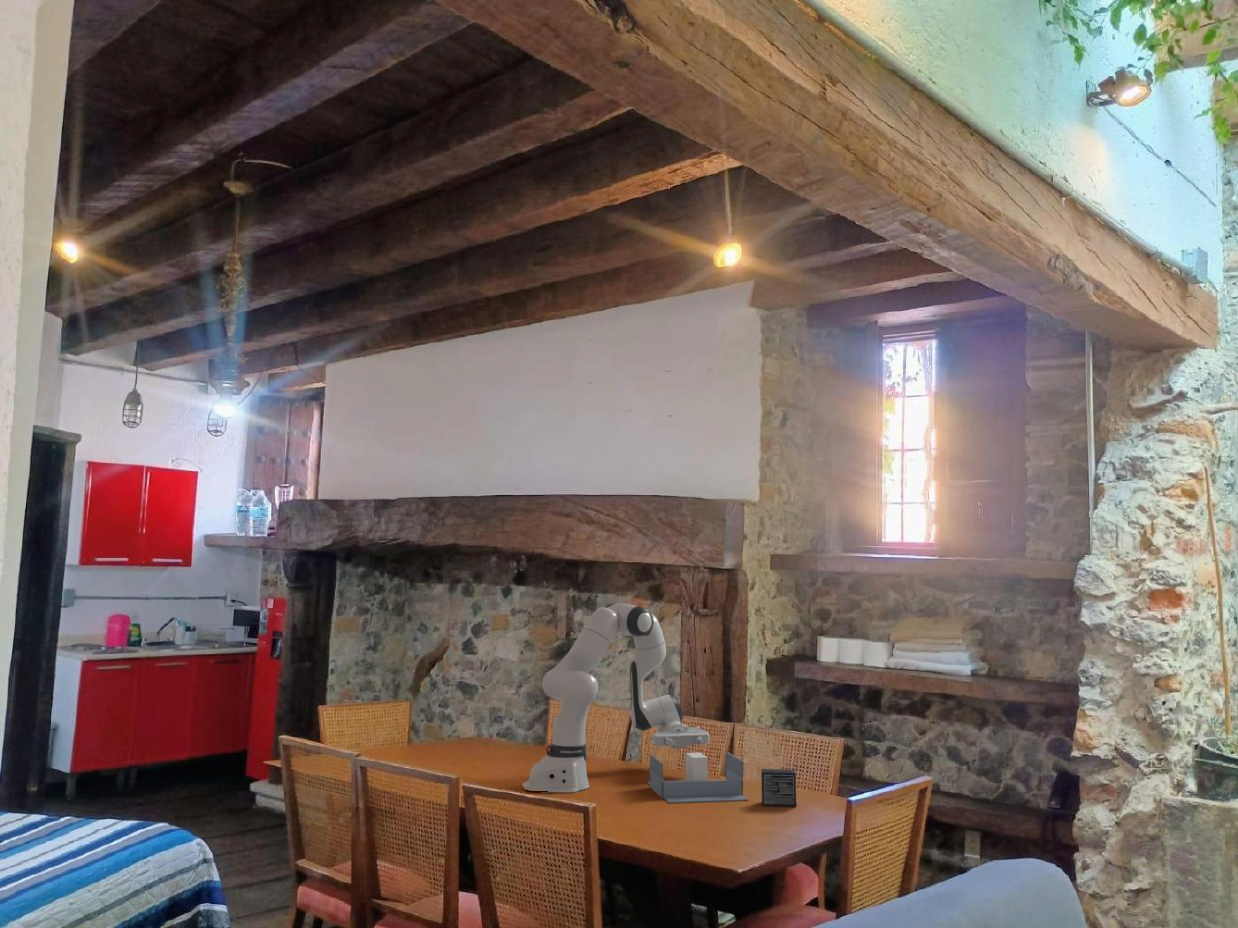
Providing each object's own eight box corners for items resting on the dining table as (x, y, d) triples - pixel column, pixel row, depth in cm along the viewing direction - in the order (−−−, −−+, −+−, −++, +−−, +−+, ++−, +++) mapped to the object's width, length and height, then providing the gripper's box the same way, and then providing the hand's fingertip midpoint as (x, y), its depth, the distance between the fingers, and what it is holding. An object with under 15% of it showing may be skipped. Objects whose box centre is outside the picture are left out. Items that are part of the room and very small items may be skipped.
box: (692, 795, 315) (692, 757, 316) (685, 789, 323) (685, 752, 325) (707, 794, 315) (707, 757, 317) (700, 789, 324) (700, 752, 326)
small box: (795, 802, 306) (794, 768, 307) (796, 807, 299) (796, 772, 300) (761, 801, 307) (761, 767, 308) (762, 806, 300) (762, 771, 301)
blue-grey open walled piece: (666, 803, 303) (666, 767, 304) (644, 782, 334) (644, 749, 335) (750, 800, 308) (750, 764, 309) (721, 779, 339) (721, 747, 340)
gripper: (648, 727, 347) (657, 734, 334) (702, 725, 351) (713, 731, 338) (648, 745, 347) (657, 752, 333) (703, 743, 350) (714, 750, 337)
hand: (686, 742), depth 335 cm, fingers open, 8 cm apart
